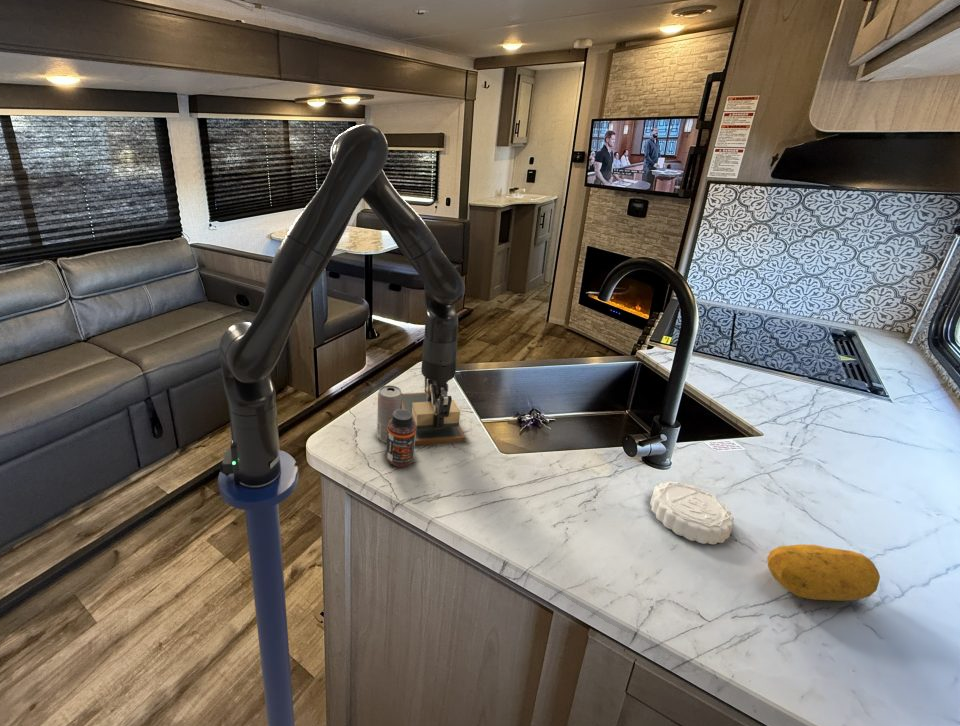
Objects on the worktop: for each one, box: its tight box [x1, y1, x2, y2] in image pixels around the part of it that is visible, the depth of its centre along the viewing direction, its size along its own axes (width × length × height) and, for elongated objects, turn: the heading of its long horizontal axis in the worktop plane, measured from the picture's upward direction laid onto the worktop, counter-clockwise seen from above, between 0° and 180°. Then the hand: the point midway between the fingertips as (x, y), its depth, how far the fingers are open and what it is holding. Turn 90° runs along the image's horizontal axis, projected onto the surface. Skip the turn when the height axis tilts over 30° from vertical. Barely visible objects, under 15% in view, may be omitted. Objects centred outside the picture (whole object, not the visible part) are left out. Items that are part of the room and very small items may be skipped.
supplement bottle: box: [385, 409, 416, 468], centre depth 96 cm, size 6×6×11 cm
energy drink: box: [376, 384, 403, 444], centre depth 104 cm, size 5×5×12 cm
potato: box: [766, 544, 881, 602], centre depth 69 cm, size 7×14×7 cm, turn 85°
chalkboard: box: [402, 391, 467, 447], centre depth 112 cm, size 12×20×1 cm, turn 7°
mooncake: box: [649, 481, 735, 545], centre depth 83 cm, size 12×12×4 cm
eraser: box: [412, 399, 461, 429], centre depth 106 cm, size 10×5×4 cm, turn 97°
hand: (434, 420), depth 107 cm, fingers closed on eraser, 5 cm apart
